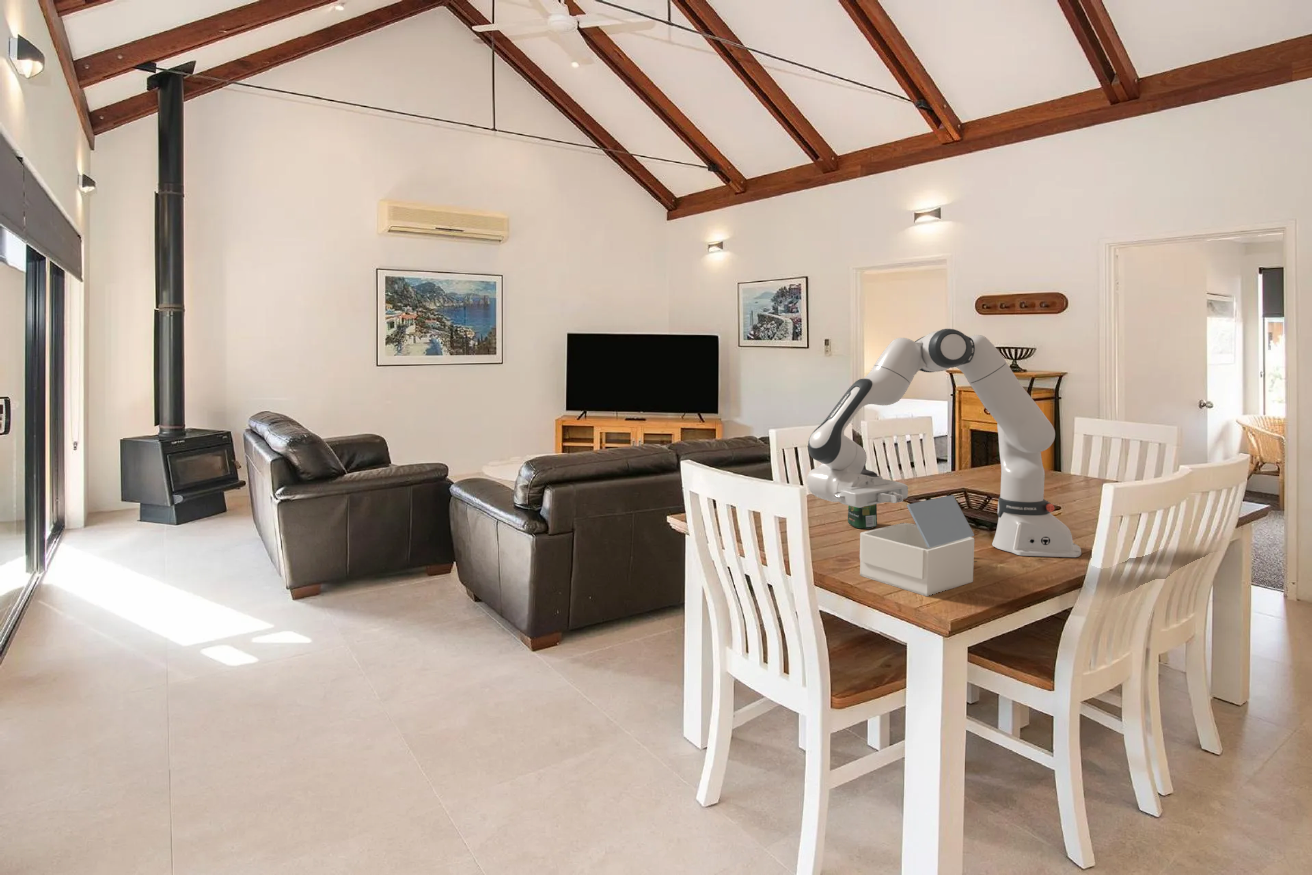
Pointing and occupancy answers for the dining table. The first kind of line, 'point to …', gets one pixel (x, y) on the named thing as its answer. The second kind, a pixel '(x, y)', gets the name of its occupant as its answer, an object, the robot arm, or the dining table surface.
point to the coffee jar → (863, 512)
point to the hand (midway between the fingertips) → (899, 499)
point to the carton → (915, 560)
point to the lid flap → (940, 521)
